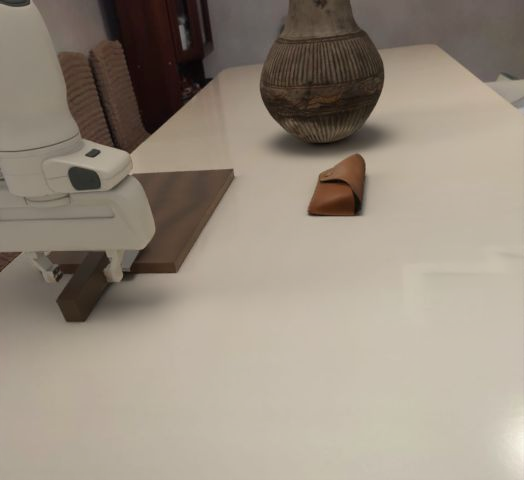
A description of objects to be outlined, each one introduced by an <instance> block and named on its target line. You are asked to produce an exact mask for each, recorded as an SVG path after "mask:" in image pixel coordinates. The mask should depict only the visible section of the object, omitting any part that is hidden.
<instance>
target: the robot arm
mask: <svg viewBox="0 0 524 480" xmlns="http://www.w3.org/2000/svg"><path fill="white" fill-rule="evenodd" d="M67 91H68V90H67V84H66V80H65V76H64V73H63V70H62V67H61V62H60V60H59V57H58V54H57V50H56V48H55V46H54V41H53V39H52V37H51V34H50V32H49V30H48V27H47V25H46V23H45V20H44V18H43V16H42V14H41V12H40V11H39V9H38V7H37V5H36V4H35V3H34V1H33V0H0V253H24V254H25V256H26V260H28V261H29V262H30V263H31V264H32V265H33V266H34V267H35V268H36V269H37V270H39V272H40V271H42V274H41V275H42V276H43V279H44V281H45V283H48V284H49V283H50V284H51V283H53V284H54V283H60V281H61V280H62V279H63V277H64V275H63V274H62V272H61V271H60V270H61V268H60V266H59V264H53V263H52V262H51V261H50V260H49V259H48V258H47V255H46V254H45V252H51V251H95V250H105V251H106V255H107V257H108V258H111V257H112V261H111V264H108V265H107V267H106V268H105V269H104V270H103V272H104V275H105V276H106V281H107V283H120V282H121V281H122V279H123V277H124V273H123V272H122V269H121V265H120V264H121V261H122V258H123V255H124V252H125V250H141V249H144V248H145V247H146V246H147V244H148V243H149V242H150V241H151V239H152V238H153V236H154V234H155V223H154V219H153V215H152V212H151V208H150V205H149V202H148V199H147V197H146V194H145V191H144V189H143V187H142V185H141V184H140V182H139V181H138V180H137V179H136V178H135V177H133V176H131V175H132V174H130V172H131V171H132V170H133V168H134V163H133V158H132V156H131V154H130V153H129V152H127V151H126V150H123V149H119V148H116V147H111V146H108V145H104V144H101V143H97V142H95V141H91V140H88V139H86V138H82V135H81V130H80V128H79V126H78V123H77V122H76V119H74V117H73V114H72V113H71V111H70V107H69V103H68V95H67V94H68V92H67Z"/></svg>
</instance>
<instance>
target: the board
mask: <svg viewBox="0 0 524 480" xmlns="http://www.w3.org/2000/svg"><path fill="white" fill-rule="evenodd" d="M130 175H131V176H133V177H135V178H136V179H137V180H138V181H139V182H140V184H141V185H142V187H143V189H144V191H145V194H146V197H147V199H148V202H149V205H150V208H151V212H152V215H153V219H154V223H155V234H154V236H153V238H152V239H151V241H150V242H149V243H148V244H147V246H146V247H145V248H144V249H142V251H141V253H140V255H139V257H138V258H137V260H136V262H135V264H134V265H133V267H132V269H131V271H122V272H123V274H153V273H154V274H157V273H158V274H159V273H160V274H161V273H163V274H165V273H168V274H169V273H176V274H177V272H178V270H180V268H181V266H182V264H183V262H184V260H185V259H186V257H187V255H188V254H189V252H190V251H191V249H192V247H193V246H194V244H195V243H196V241H197V239H198V238H199V236H200V235H201V233H202V231H203V229H204V228H205V227H206V225H207V223H208V221H209V219H210V218H211V217H212V214H213V213H214V211H215V209H216V208H217V206H218V205H219V203H220V201H221V200H222V198H223V196H224V195H225V193H226V192H227V190H228V188H229V187H230V185H231V183H232V181H233V180H234V178H235V171H234V168H220V169H219V168H217V169H201V170H199V169H198V170H182V171H181V170H180V171H179V170H178V171H160V172H158V171H157V172H141V173H140V172H139V173H132V174H130ZM88 252H92V251H49V253H48V254H47V255H46V256H47V258H48V259H49V260H50V261H51V262H52V263H53V264H59V266H60V268H61V270H60V271H61V272H62V273H73V274H74V273H75V271H76V270H77V269H78V267H79V266H80V264H81V263H82V261H83V260H84V258H85V257H86V255H87V254H88ZM39 272H40V274H41V275H43V274H42V271H40V270H39Z"/></svg>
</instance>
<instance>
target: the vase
mask: <svg viewBox="0 0 524 480" xmlns="http://www.w3.org/2000/svg"><path fill="white" fill-rule="evenodd" d="M385 76H386V75H385V65H384V61H383V59H382V56H381V54H380V52H379V50H378V48H377V47H376V45H375V42H373V39H371V37H370V35H369V33H367V32H366V31H365V30H364V29H362V27H360V26H359V25H358V23H357V22H356V20H355V17H354V14H353V10H352V5H351V0H288V10H287V15H286V22H285V25H284V28H283V30H282V32H281V33H280V35H279V36H278V37H277V38H276V39H275V40H274V42H273V43H272V45H271V47H270V48H269V51H268V53H267V56H266V57H265V60H264V62H263V66H262V69H261V72H260V79H259V94H260V98H261V100H262V103H263V105H264V107H265V108H266V110H267V113H268V114H269V115H270V117H271V118H272V119H273V120H274V121H275V122H276V123H277V124H278V125H279V126H280V127H281V128H282V129H283V130H285V132H287V133H288V134H289V135H291V136H293V137H294V138H296V139H298V140H301V141H303V142H306V143H312V144H326V143H333V142H336V141H341V140H343V139H345V138H347V137H349V136H351V135H353V134H354V133H356V132H357V131H358V130H360V129H361V128H362V127H363V126H364V124H365V123H366V122H367V120H368V119H369V118H370V117H371V114H372V113H373V111H374V110H375V108H376V106H377V104H378V102H379V100H380V97H381V94H382V92H383V88H384V85H385Z"/></svg>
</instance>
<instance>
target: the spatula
mask: <svg viewBox="0 0 524 480" xmlns="http://www.w3.org/2000/svg"><path fill="white" fill-rule="evenodd" d="M141 251H142V249H141V250H125V252H124V255H123V258H122V261H121V264H120V265H121V269H122V271H131V269H132V267H133V265H134V264H135V262H136V260H137V258H138V257H139V255H140V253H141ZM111 261H112V257H111V258H108V257H107V255H106V251H105V250H95V251H92V252H88V254H87V255H86V257H85V258H84V260H83V261H82V263H81V264H80V266H79V267H78V269H77V270H76V271H75V273H73V275H72V276H71V277H70V279H69V281H67V283H66V285H65V286H64V288H62V290H61V292H60V293H59V295H58V296H57V298H56V299H55V302H56V305H57V306H58V308H59V310H60V312H61V314H62V316H63V317H64V320H65V322H78V323H79V322H85V321H86V320H87V318H88V316H89V315H90V313H91V311H92V309H93V307H94V306H95V304H96V303H97V301H98V299H99V297H100V296H101V295H102V293H103V291H104V289H105V287H106V286H107V284H108V282H107V281H106V276H105V275H104V272H103V270H104V269H105V268H106V267H107V265H108V264H111Z"/></svg>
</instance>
